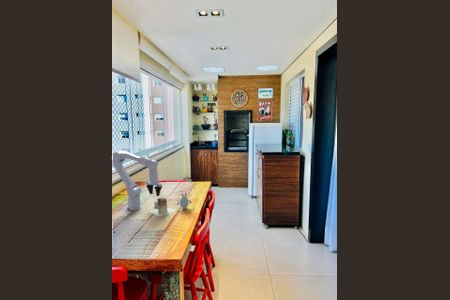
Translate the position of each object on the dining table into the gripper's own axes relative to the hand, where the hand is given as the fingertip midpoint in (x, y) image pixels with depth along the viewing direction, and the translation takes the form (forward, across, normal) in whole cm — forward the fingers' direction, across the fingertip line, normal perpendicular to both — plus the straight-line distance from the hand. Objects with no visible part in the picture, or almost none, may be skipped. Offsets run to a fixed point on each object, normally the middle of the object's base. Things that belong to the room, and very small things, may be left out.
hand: (154, 194), depth 173 cm
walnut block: (+5, +10, -2) cm, 11 cm away
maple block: (+10, +10, -1) cm, 14 cm away
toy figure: (+11, +19, +11) cm, 24 cm away
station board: (+10, +10, -1) cm, 14 cm away
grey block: (+10, -1, +4) cm, 11 cm away
